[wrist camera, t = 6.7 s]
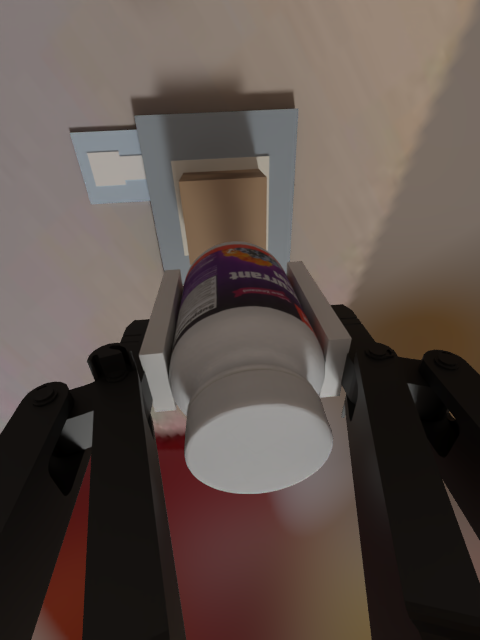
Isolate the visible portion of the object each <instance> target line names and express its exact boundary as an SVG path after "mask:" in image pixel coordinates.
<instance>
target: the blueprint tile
mask: <svg viewBox="0 0 480 640" xmlns="http://www.w3.org/2000/svg"><path fill="white" fill-rule="evenodd" d="M70 135H71V138H72V142H73V145H74V148H75V152H76V155H77V159H78V162H79V165H80V169H81V172H82V175H83V179H84V182H85V185H86V189H87V192H88V195H89V199H90V202H91V204H105V203H122V202H140V201H151V200H150V195H149V190H148V184H147V179H146V174H145V169H144V164H143V158H142V153H141V148H140V143H139V138H138V132H137V130H117V131H95V132H73V133H70Z"/></svg>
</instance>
